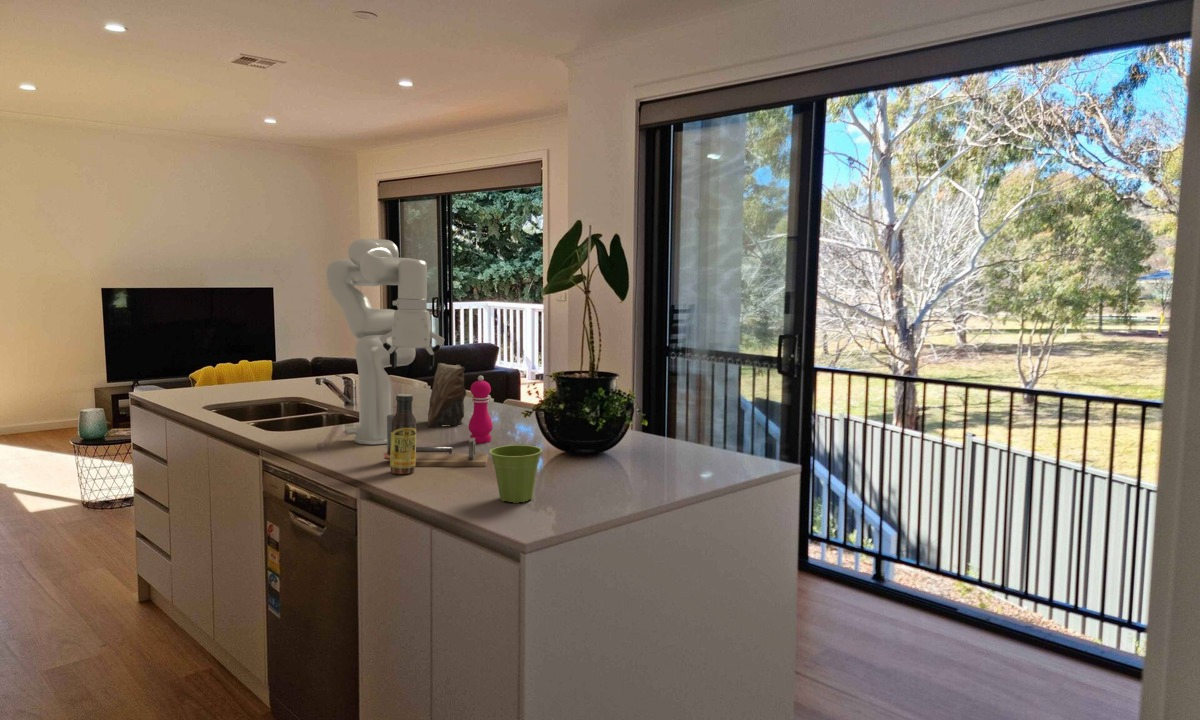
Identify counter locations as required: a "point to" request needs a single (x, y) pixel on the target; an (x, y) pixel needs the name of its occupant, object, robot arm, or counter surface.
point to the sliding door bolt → (418, 449)
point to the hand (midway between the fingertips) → (411, 368)
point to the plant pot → (515, 471)
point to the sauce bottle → (403, 437)
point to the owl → (447, 396)
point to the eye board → (453, 458)
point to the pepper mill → (480, 412)
